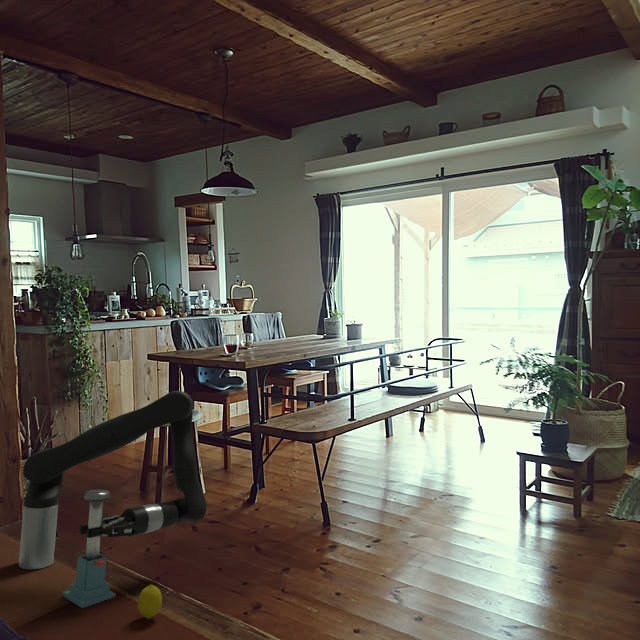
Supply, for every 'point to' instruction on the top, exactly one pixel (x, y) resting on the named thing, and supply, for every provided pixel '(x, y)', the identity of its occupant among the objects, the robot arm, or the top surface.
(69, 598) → the stand base
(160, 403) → the robot arm
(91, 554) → the column
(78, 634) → the top surface
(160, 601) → the lemon
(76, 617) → the top surface
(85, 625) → the top surface
